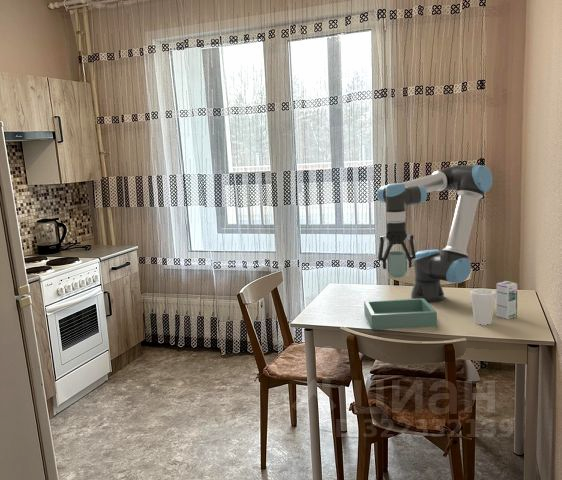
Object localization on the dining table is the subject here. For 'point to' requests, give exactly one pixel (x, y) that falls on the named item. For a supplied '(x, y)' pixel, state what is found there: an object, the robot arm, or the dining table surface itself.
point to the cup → (397, 263)
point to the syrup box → (507, 299)
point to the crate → (400, 314)
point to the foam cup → (483, 305)
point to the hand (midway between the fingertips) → (397, 275)
